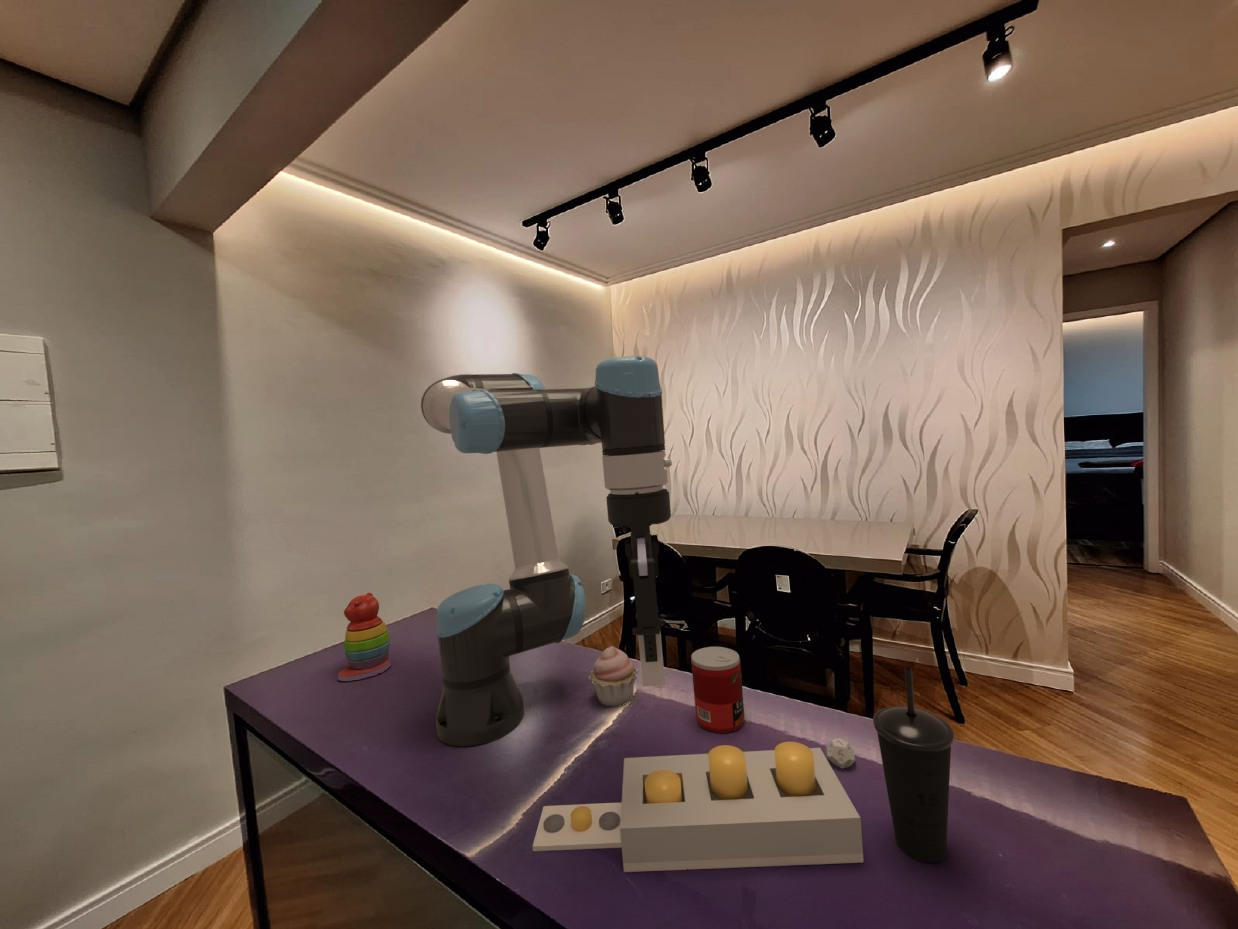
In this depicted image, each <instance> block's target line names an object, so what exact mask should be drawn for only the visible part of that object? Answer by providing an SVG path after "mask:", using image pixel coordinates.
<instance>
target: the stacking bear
mask: <svg viewBox="0 0 1238 929" xmlns="http://www.w3.org/2000/svg"><path fill="white" fill-rule="evenodd" d="M379 610H380V603H379V600H378V599H377V598H376V597H375V596H374V594H373V593H371V592H367V593H366V594H361V595H358V596H355V597H354V598H352V599H351V600H350V602H349V603H348V604H347V606H346V608H345V609H344V610H343V615H344V616H345V617H344V618H346V620H348V622H349V623H348V624H347V626H346V631H345V634H344V635H345V636H344V642H343V644H344V645H343V649H344V654H345V657H346V660H347V664H348V666H347V667H345V668H344V669H342V670H340V671H339V673H338V674H337V675H339V676H341V677H343V676H344V677H349V676H350V677H351V676H356V675H361V674H367V673H370V672H372V671H375V670H377V669H380V668H381V667H384V666H385V665H386V664H388V663H389V661H390V660H391V658H390V657H389V653H390V646H391V645H390V644H391V639H390V633H389V630H388V627H387V625H386V622H385V621H384V620H383V619H382V618H381V617H380V616H378V614H379Z"/></svg>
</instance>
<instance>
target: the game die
mask: <svg viewBox="0 0 1238 929" xmlns="http://www.w3.org/2000/svg"><path fill="white" fill-rule="evenodd" d="M826 758H827V759H828V760H829V762H831V763H832V764H833V765H834V766H836V767H838V768H840V769H841V770H842V769H844V768H850V767H851V766H852V765H853V764H854V762H855V761H856V758H855V749H854V748H853V747H852V746H851V744H850V743H849V742H848V741H846V740H844V739H843V738H840V737H838V738H835V739H834V738H833V739H832V740H830V741H829V742H828V744H827V745H826Z"/></svg>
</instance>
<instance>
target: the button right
mask: <svg viewBox="0 0 1238 929" xmlns="http://www.w3.org/2000/svg"><path fill="white" fill-rule="evenodd" d="M809 748H810V747H808V746H807V745H805V744H803V743H800V742H797V741H785V742H781V743H779V744H777V745H776V746H775V748H774V750H775V763H776V776H777V786H778V788H779V789H780V790H781V791H782V792H783V793H784V794H786V795H788V796H790V797H798V796H812V795H813V794H814V793H815V791H816V784H815V771H814V757H813V752H812V751H811V750H810V749H809Z"/></svg>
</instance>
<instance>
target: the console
mask: <svg viewBox="0 0 1238 929" xmlns="http://www.w3.org/2000/svg"><path fill="white" fill-rule="evenodd" d="M808 748H809V749H810V750H811V751H812V752H813V757H814V771H815V784H816V791H815V793H814V794H813V795H812V796H798V797H790V796H788V795H786V794H784V793H783V792H782V791H781V790H780V789H779V788H778V786H777V776H776V763H775V749H770V750H753V751H742V752H743V753H744V754H745V759H746V771H747V784H748V793H747V795H746V797H745V798H743V799H736V800H720V799H718V798H717V797H716V796H715V795H714V794H713V793H712V791H711V783H710V771H709V759H708V754H709V753H695V754H678V755H676V754H675V755H674V754H673V755H661V756H660V755H658V756H657V755H656V756H640V757H639V756H637V757H624V758H623V777H622V788H621V789H622V791H621V802H622V804H621V820H620V834H621V845H622V847H621V855H622V864H623V865H622V866H623V867H622V868H623V873H633V872H658V871H660V872H661V871H682V870H683V871H685V870H687V869H688V870H705V869H706V870H709V869H733V868H734V869H735V868H754V867H755V868H757V867H762V868H763V867H783V866H784V867H787V866H805V865H808V866H809V865H827V864H828V865H830V864H831V865H832V864H854V863H855V864H858V863H861V864H862V863H864V862H865V861H864V849H863V837H862V836H863V835H862V819H861V816H860V814H859V813H858V811H857V810H856V807H855V806H854V804H853V802H852V800H851V798H850V796H848V793H847V792H846V790H845V788H844V787H843V785H842V783H841V781H840V780H839V778H838V776H837V775H836V773H835V771H834V770H833V768H832V766H831V764H830V761H828V758H827V756H826V755H825V754H824V752H823V751H822V749H821V747H808ZM658 770H668V771H672V772H674V773H676V774H677V775H678V776H679V778H680V781H681V792H682V802H673V803H652V804H646V793H645V779H646V777H647V776H648V775H649V774H651V773H652V772H655V771H658Z"/></svg>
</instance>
